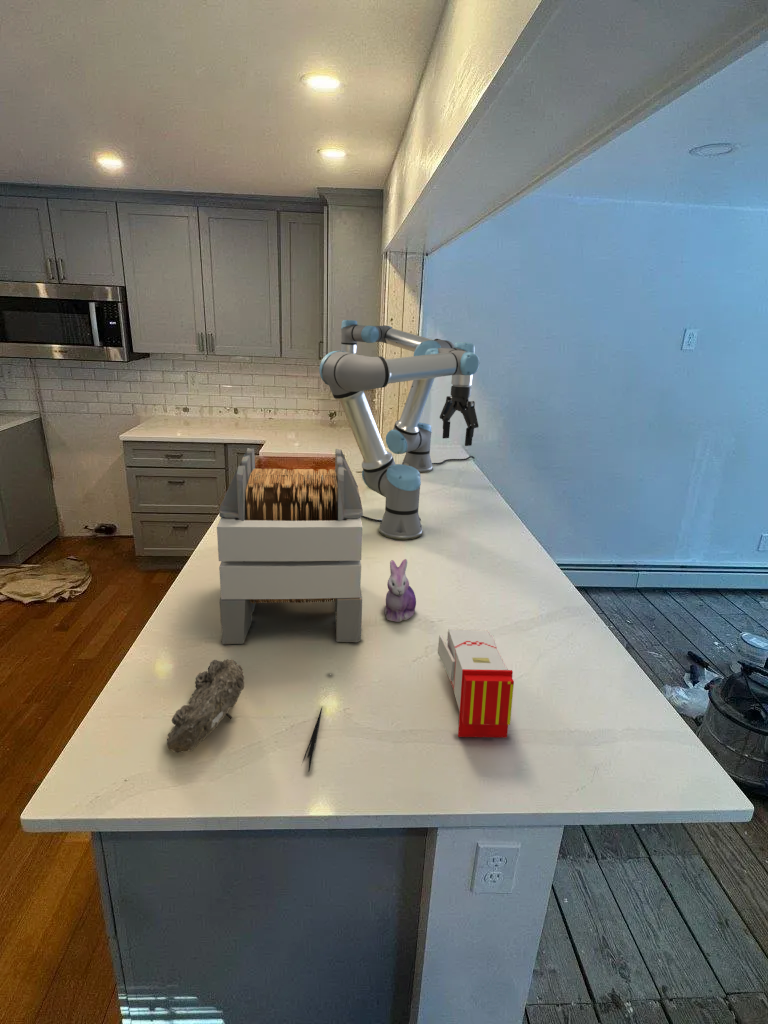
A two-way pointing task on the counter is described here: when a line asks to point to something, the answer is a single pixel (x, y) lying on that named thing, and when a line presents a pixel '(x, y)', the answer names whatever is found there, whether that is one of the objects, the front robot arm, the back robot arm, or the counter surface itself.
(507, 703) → the toy
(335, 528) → the transformer
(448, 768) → the counter surface
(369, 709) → the counter surface
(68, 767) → the counter surface
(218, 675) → the fossil
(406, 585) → the figurine
